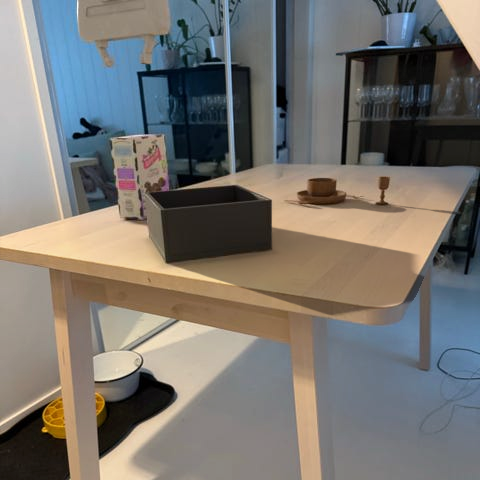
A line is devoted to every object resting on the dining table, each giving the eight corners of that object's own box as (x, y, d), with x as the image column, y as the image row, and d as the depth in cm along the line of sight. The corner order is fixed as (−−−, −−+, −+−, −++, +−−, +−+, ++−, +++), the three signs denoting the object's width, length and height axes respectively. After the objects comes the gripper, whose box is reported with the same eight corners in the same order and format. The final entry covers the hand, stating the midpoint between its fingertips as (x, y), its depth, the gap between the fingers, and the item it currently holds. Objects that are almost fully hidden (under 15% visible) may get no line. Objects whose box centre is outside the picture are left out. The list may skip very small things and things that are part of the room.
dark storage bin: (165, 263, 70) (160, 210, 66) (149, 236, 85) (143, 192, 81) (272, 249, 75) (272, 199, 71) (238, 226, 90) (236, 184, 86)
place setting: (330, 192, 121) (331, 169, 118) (392, 203, 106) (395, 177, 103) (278, 201, 112) (278, 176, 110) (337, 214, 97) (339, 185, 95)
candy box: (143, 220, 97) (133, 137, 90) (119, 219, 99) (107, 137, 92) (172, 207, 109) (165, 133, 102) (150, 207, 111) (142, 133, 104)
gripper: (63, -15, 87) (77, 68, 93) (150, -32, 78) (159, 60, 84) (87, -9, 92) (98, 69, 98) (171, -24, 83) (178, 62, 89)
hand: (127, 65), depth 91 cm, fingers open, 8 cm apart
